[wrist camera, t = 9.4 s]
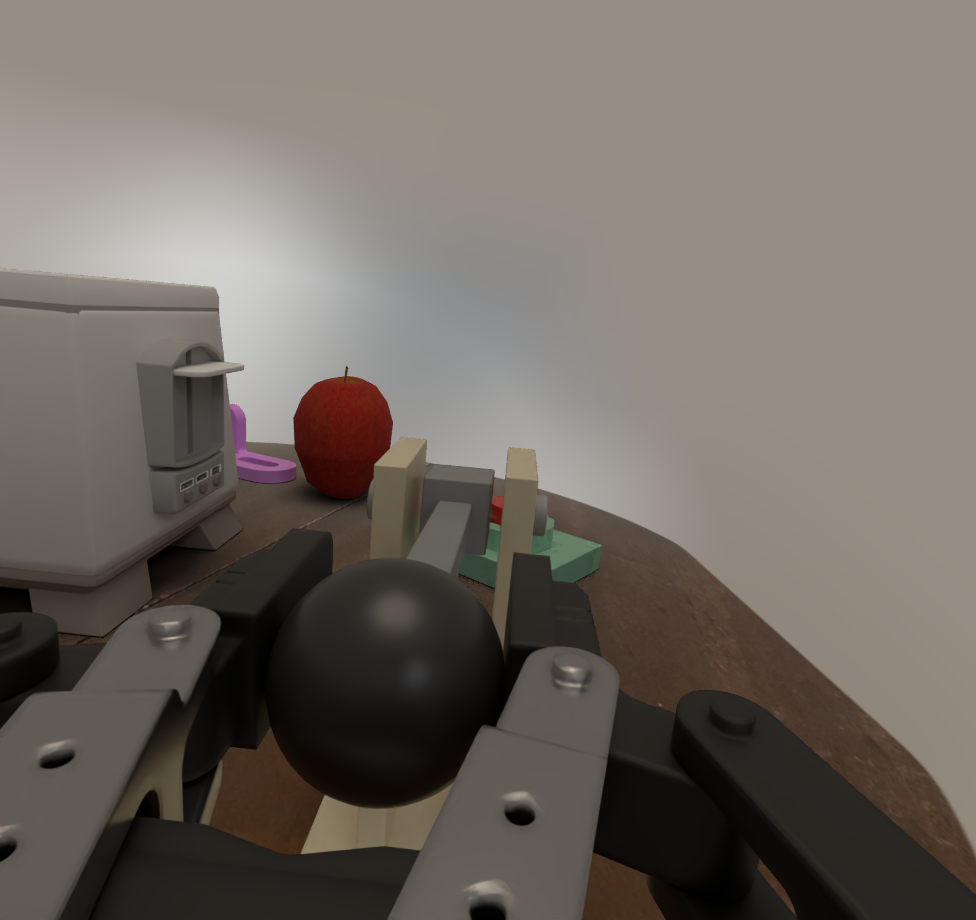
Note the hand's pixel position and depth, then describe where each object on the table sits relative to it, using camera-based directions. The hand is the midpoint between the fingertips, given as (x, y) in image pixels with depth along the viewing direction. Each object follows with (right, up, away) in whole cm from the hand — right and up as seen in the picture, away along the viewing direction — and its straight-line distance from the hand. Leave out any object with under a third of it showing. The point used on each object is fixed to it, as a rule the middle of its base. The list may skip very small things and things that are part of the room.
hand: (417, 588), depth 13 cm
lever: (0, -2, +3) cm, 4 cm away
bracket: (-27, +1, +62) cm, 68 cm away
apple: (-14, -1, +56) cm, 58 cm away
